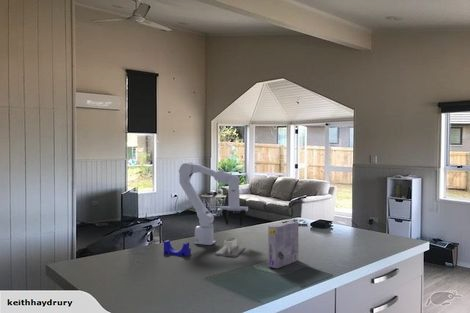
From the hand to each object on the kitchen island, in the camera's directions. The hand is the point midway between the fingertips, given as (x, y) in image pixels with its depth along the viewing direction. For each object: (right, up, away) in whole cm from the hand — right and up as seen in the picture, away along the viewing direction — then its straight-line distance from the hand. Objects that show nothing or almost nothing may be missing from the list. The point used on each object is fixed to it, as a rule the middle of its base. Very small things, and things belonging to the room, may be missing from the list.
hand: (234, 224), depth 214 cm
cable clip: (-27, -11, -20) cm, 35 cm away
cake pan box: (+22, -12, -34) cm, 42 cm away
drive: (-2, -10, -15) cm, 18 cm away
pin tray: (-2, -11, -15) cm, 18 cm away
